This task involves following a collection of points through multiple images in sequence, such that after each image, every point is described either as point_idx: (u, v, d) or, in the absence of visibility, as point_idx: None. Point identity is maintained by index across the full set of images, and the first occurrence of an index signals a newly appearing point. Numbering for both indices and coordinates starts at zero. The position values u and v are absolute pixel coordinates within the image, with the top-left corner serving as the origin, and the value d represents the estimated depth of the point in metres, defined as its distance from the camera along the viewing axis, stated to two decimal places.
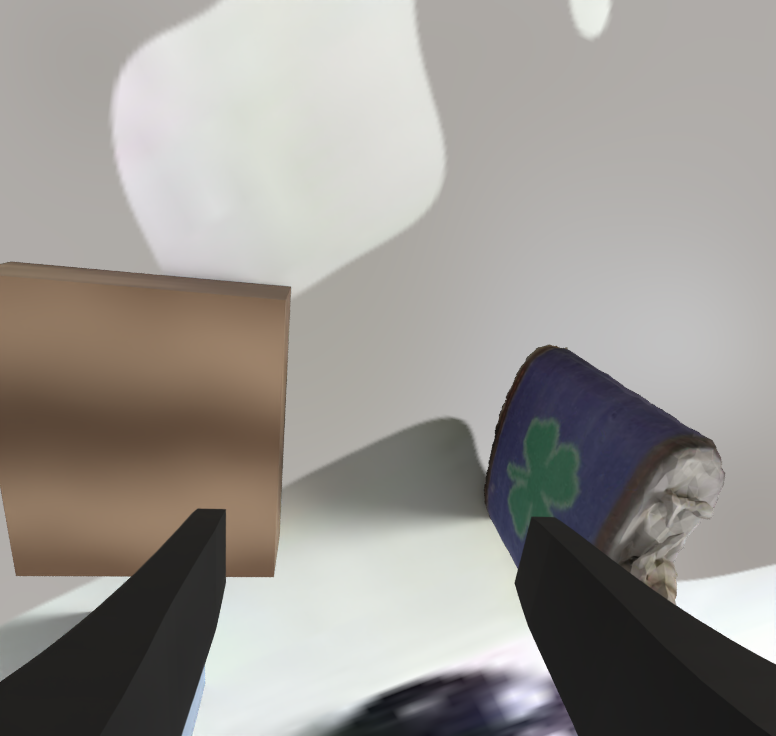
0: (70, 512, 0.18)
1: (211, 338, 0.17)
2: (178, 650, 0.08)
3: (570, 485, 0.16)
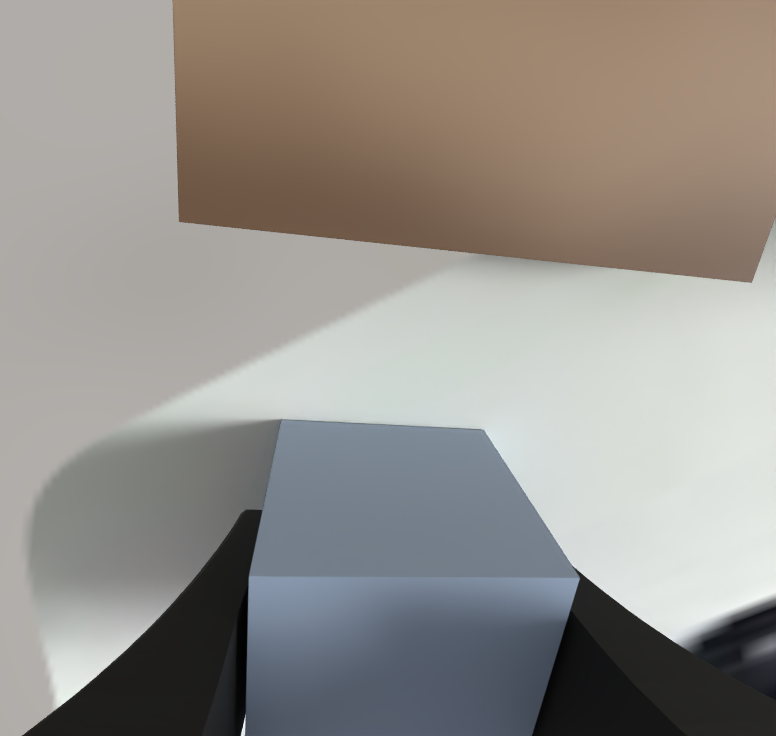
0: (344, 10, 0.07)
1: None
2: (242, 649, 0.08)
3: None
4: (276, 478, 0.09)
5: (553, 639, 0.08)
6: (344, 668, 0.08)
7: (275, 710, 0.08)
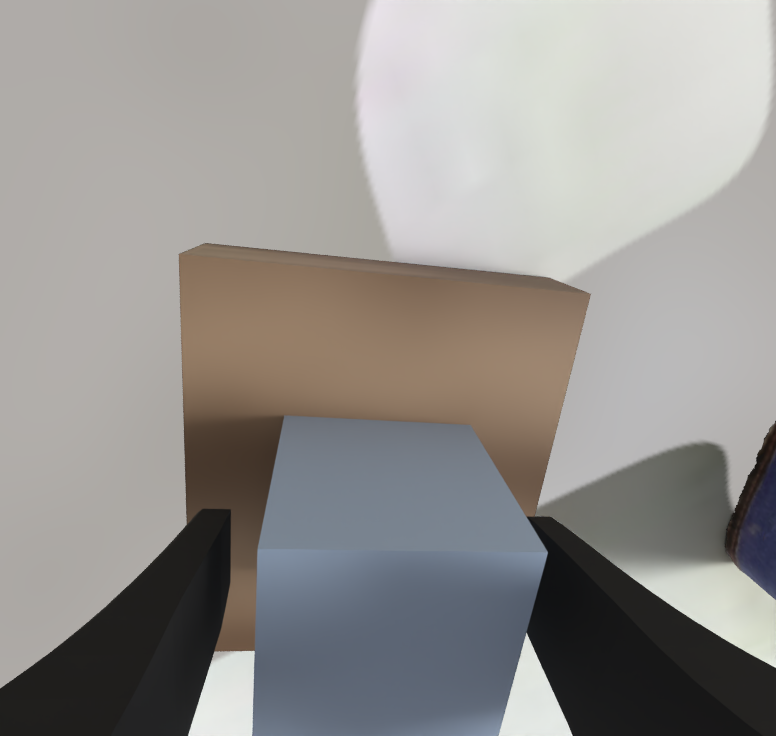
0: None
1: (487, 345, 0.12)
2: (185, 650, 0.08)
3: None
4: (280, 467, 0.10)
5: (526, 607, 0.09)
6: (341, 632, 0.09)
7: (280, 669, 0.09)
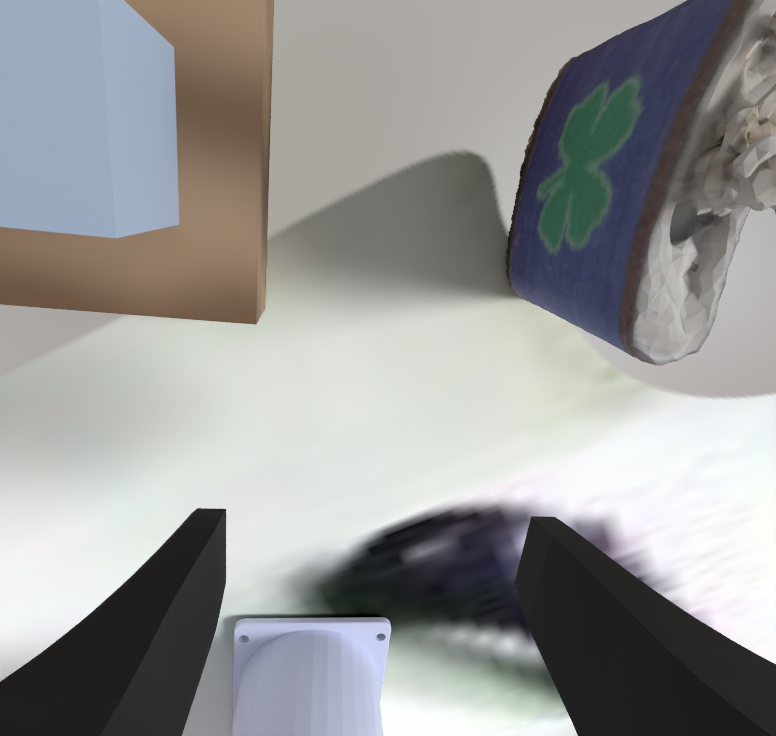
0: None
1: None
2: (178, 650, 0.08)
3: (628, 116, 0.13)
4: None
5: (95, 48, 0.10)
6: None
7: None
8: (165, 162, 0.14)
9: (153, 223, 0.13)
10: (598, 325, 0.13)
